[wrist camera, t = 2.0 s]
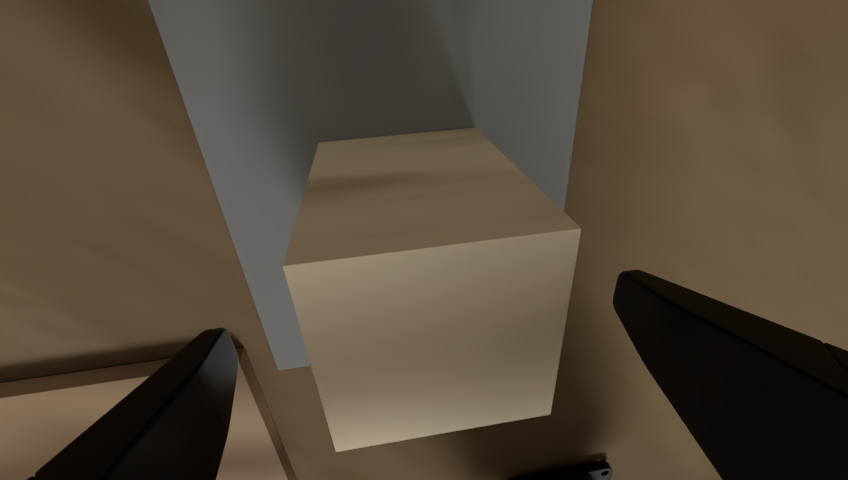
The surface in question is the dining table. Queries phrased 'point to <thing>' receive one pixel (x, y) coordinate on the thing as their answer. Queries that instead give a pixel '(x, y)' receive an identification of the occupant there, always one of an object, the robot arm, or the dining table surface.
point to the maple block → (428, 286)
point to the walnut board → (100, 391)
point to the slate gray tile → (362, 101)
